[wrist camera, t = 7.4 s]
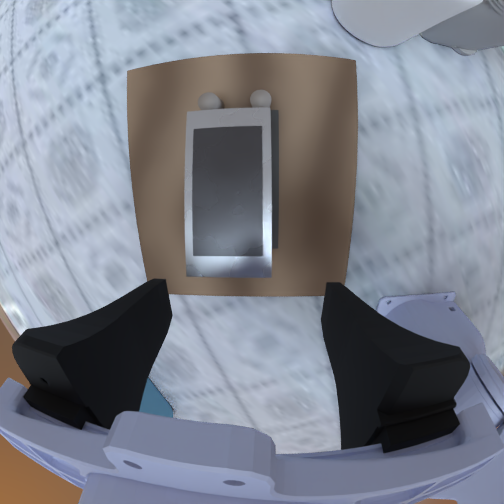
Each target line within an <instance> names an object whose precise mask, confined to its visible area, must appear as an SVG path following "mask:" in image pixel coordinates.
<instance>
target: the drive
mask: <svg viewBox="0 0 504 504" xmlns="http://www.w3.org/2000/svg"><path fill="white" fill-rule="evenodd" d="M184 209H185V255H186V277H236V278H272V169H271V111H270V107H259V108H228V109H212V110H200V111H190V112H187V121H186V143H185V189H184Z"/></svg>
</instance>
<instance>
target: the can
mask: <svg viewBox="0 0 504 504" xmlns="http://www.w3.org/2000/svg"><path fill="white" fill-rule="evenodd" d="M482 1H483V0H332V8H333V12H334V14H335V16H336V18H337V19H338V21H339V22H340V24H341V25H342V26H343V27H344V28H345V29H346V30H347V31H348V32H349V33H351V34H352V35H353V36H355V37H356V38H358V39H360V40H362V41H364V42H366V43H368V44H371V45H374V46H378V47H391V46H396V45H399V44H401V43H403V42H405V41H406V40H408V39H410V38H412V37H414V36H416V35H417V34H419V33H421V32H423V31H425V30H427V29H429V28H431V27H433V26H434V25H436V24H438V23H440V22H442V21H444V20H446V19H449V18H451V17H453V16H455V15H457V14H459V13H461V12H463V11H465V10H468V9H470V8H472V7H474V6H476V5H478V4H480V3H481V2H482Z"/></svg>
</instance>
